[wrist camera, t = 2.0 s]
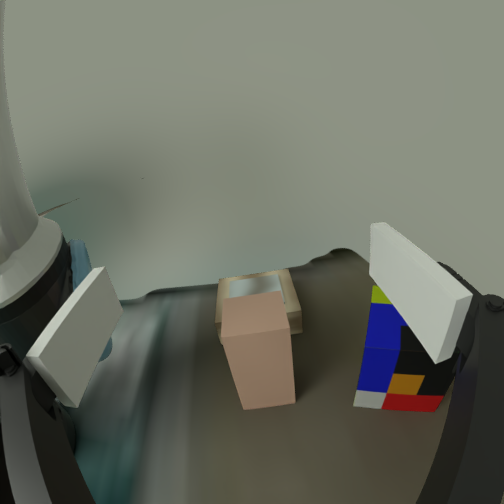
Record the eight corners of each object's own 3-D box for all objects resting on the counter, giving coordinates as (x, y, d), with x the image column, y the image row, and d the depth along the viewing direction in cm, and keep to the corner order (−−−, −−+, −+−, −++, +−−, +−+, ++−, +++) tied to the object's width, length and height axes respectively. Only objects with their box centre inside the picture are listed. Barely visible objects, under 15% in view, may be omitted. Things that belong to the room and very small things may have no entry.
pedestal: (221, 344, 40) (214, 320, 38) (223, 298, 50) (218, 277, 49) (302, 332, 39) (301, 307, 37) (289, 288, 50) (287, 266, 48)
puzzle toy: (352, 406, 27) (364, 346, 22) (365, 346, 35) (373, 285, 30) (434, 412, 22) (466, 352, 18) (433, 351, 30) (451, 290, 26)
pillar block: (243, 409, 29) (220, 337, 24) (242, 372, 34) (223, 298, 29) (295, 402, 29) (289, 327, 24) (288, 366, 34) (280, 290, 29)
